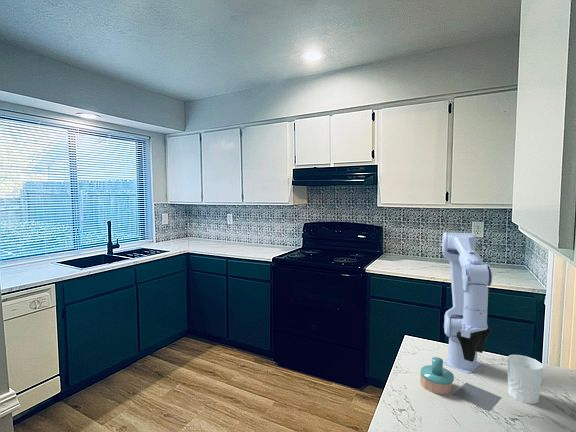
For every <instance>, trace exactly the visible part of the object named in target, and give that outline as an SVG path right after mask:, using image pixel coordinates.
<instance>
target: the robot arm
mask: <svg viewBox="0 0 576 432" xmlns="http://www.w3.org/2000/svg"><path fill="white" fill-rule="evenodd" d="M476 247H477V236H476V234H475V233H474V232H470V233H468V232H467V233H466V232H447V231H445V232H443V233H442V238H441V249H442V256H443V258H444V259H446V260H448V263H449V268H450V269H449V270H450V280H451V281H450V283H451V284H450V286H451V295H452V297H451V298H452V307H451V308H449V309H448V310H446V311H445V314H444V315H443V317H444V322H443V328H444V329H443V330H444V334H445V335H446V337H448V354H447V355H448V356H447V359H446V360H444V361H443V365H444V366H448V367H450V368H452V369H455V370H457V371H460V372H462V373H465V374H468V375H469V374H470V373H472V372H473V371H474V370H475V369H477V368H478V367H479V366H480V365H481V363H480V362H478V353H479V354H480V353H481V354H482V353H483V352H484V350H485V346H486V342H487V339H488V337H489V335H490V334H491V332H492V329H493V328H491V327H490V326H488V307H489V306H488V303H489V302H488V301H489V299H488V298H489V287H491V285H492V281H493V272H492V271H493V270H492V268H491V266H490V264H488V263H487V264H486V263H484V262H483V259H482V258H481V256H480V254H479V253H478V252H477V251H475V250H476Z"/></svg>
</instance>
